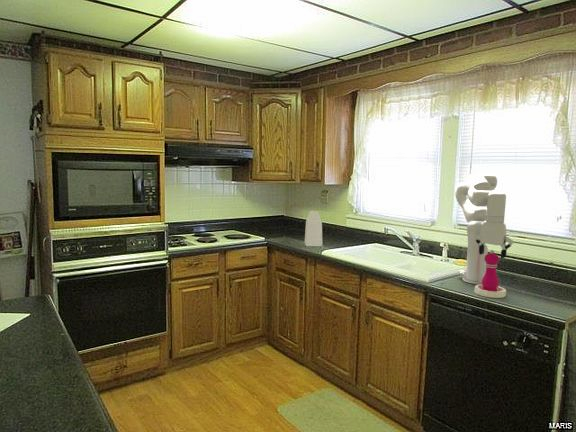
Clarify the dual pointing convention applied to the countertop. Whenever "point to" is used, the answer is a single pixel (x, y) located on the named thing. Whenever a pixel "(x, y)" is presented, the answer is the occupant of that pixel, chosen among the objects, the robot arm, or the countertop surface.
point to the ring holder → (490, 292)
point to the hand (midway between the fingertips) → (492, 255)
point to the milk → (313, 229)
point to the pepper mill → (490, 272)
